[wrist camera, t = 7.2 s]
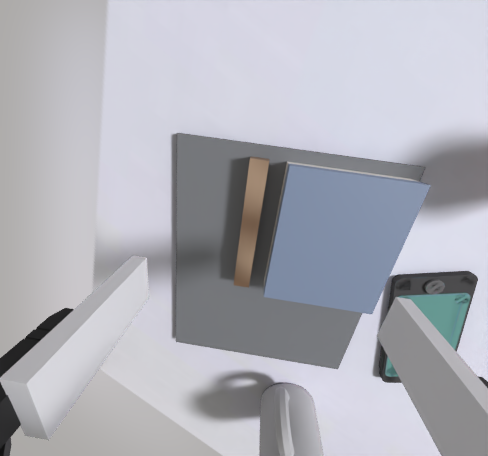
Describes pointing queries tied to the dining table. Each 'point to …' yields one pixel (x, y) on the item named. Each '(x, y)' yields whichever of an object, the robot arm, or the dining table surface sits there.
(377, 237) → the blue-grey flat block
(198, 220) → the mat
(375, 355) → the dining table surface
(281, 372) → the dining table surface
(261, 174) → the strip
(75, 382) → the robot arm
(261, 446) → the cup
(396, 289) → the smartphone
